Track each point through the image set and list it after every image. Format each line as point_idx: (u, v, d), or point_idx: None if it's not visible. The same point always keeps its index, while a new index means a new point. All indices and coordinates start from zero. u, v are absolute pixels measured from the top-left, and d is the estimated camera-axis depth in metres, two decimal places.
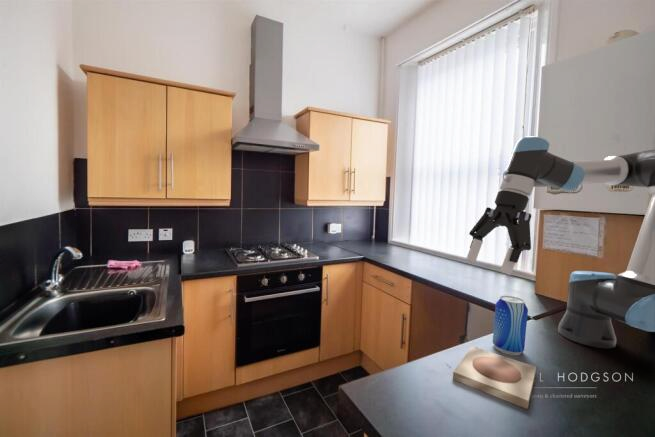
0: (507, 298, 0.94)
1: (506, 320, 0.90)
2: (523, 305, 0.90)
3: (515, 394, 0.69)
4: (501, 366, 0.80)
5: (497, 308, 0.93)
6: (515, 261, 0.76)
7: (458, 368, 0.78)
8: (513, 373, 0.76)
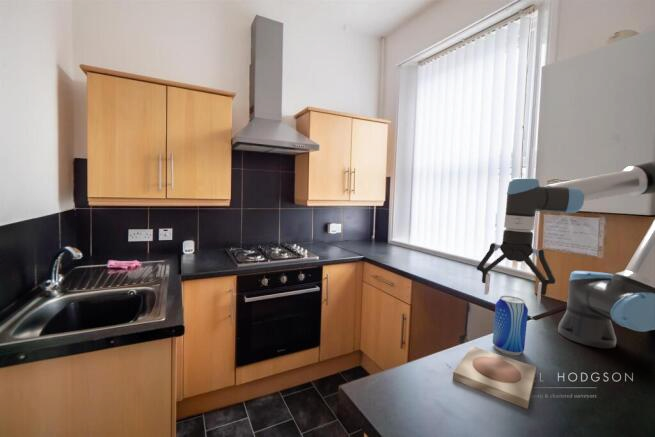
0: (507, 298, 0.94)
1: (506, 320, 0.90)
2: (523, 305, 0.90)
3: (515, 394, 0.69)
4: (501, 366, 0.80)
5: (497, 308, 0.93)
6: (545, 293, 0.87)
7: (458, 368, 0.78)
8: (513, 373, 0.76)
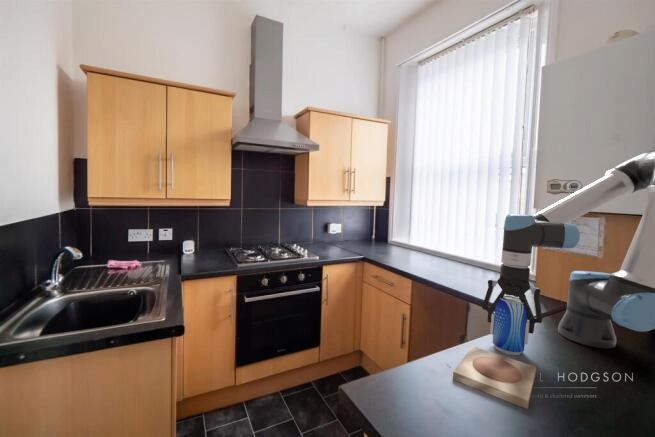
0: (507, 298, 0.94)
1: (506, 320, 0.90)
2: (523, 305, 0.90)
3: (515, 394, 0.69)
4: (501, 366, 0.80)
5: (497, 308, 0.93)
6: (533, 331, 0.90)
7: (458, 368, 0.78)
8: (513, 373, 0.76)
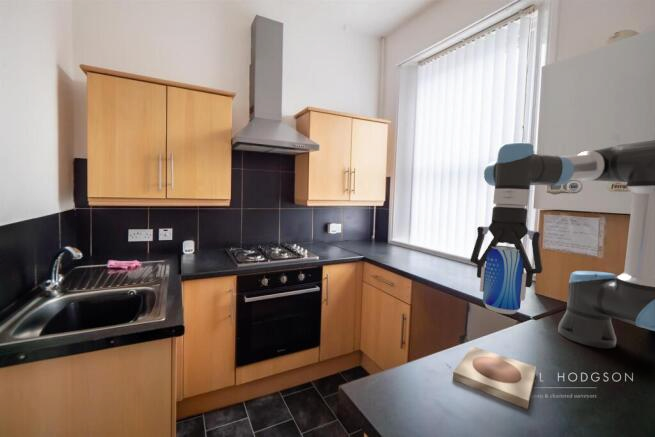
0: (500, 247, 0.78)
1: (499, 271, 0.74)
2: (519, 253, 0.74)
3: (515, 394, 0.69)
4: (501, 366, 0.80)
5: (488, 258, 0.77)
6: None
7: (458, 368, 0.78)
8: (513, 373, 0.76)
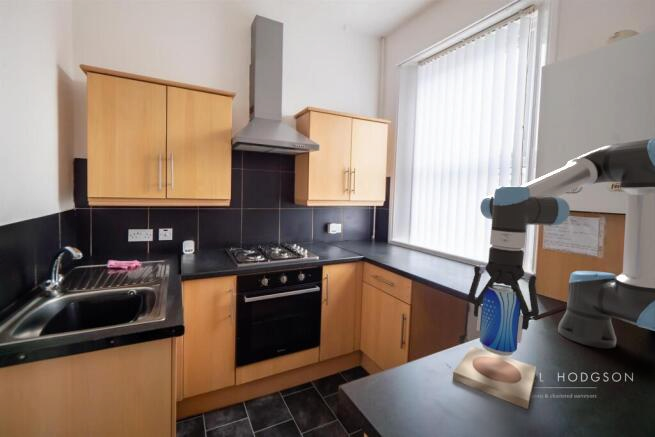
0: (496, 288, 0.78)
1: (496, 313, 0.75)
2: None
3: (515, 394, 0.69)
4: (501, 366, 0.80)
5: (485, 299, 0.78)
6: (527, 327, 0.74)
7: (458, 368, 0.78)
8: (513, 373, 0.76)
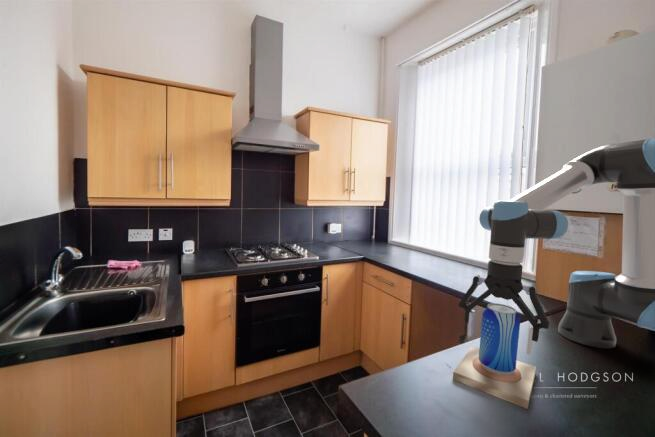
0: (495, 307, 0.79)
1: (494, 333, 0.75)
2: (514, 315, 0.75)
3: (515, 394, 0.69)
4: None
5: (484, 318, 0.78)
6: (537, 339, 0.73)
7: (458, 368, 0.78)
8: (513, 373, 0.76)
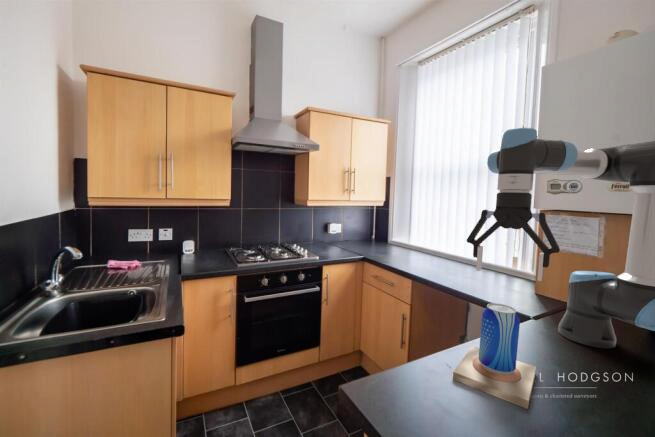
0: (495, 307, 0.79)
1: (494, 333, 0.75)
2: (514, 315, 0.75)
3: (515, 394, 0.69)
4: None
5: (483, 318, 0.78)
6: (548, 265, 0.73)
7: (458, 368, 0.78)
8: (513, 373, 0.76)
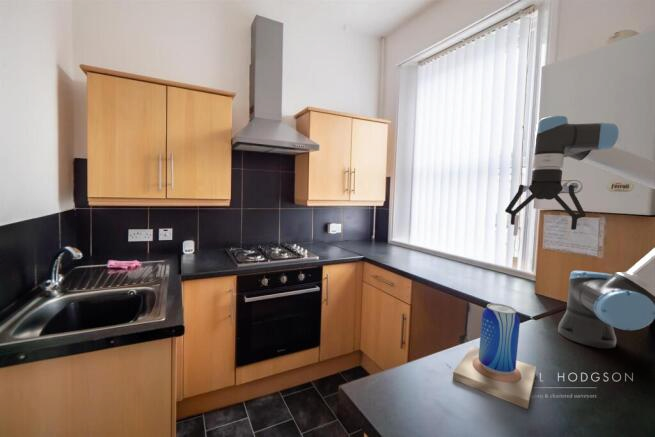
0: (495, 307, 0.79)
1: (494, 333, 0.75)
2: (514, 315, 0.75)
3: (515, 394, 0.69)
4: None
5: (483, 318, 0.78)
6: (575, 228, 0.90)
7: (458, 368, 0.78)
8: (513, 373, 0.76)
